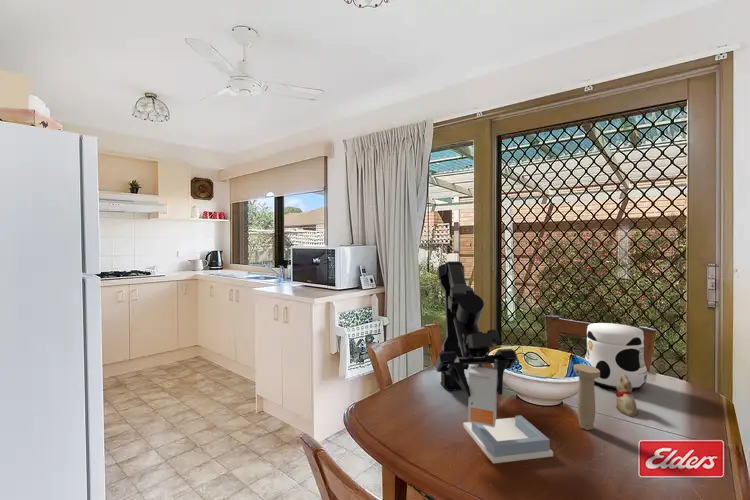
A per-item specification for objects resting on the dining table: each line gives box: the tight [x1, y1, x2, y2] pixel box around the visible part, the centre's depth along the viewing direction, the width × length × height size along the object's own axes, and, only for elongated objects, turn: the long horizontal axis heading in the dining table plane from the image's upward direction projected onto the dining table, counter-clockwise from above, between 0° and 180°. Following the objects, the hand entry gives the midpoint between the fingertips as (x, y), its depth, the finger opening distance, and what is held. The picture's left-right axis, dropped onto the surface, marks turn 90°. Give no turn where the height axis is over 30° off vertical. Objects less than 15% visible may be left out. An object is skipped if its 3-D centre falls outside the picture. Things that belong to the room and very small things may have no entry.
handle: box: [573, 363, 600, 431], centre depth 94 cm, size 5×6×15 cm
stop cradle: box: [462, 414, 554, 464], centre depth 89 cm, size 16×14×4 cm
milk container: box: [584, 322, 648, 390], centre depth 122 cm, size 17×17×18 cm
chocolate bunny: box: [615, 375, 638, 417], centre depth 104 cm, size 6×8×10 cm
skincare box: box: [467, 366, 498, 427], centre depth 87 cm, size 6×4×12 cm
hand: (485, 395), depth 86 cm, fingers closed on skincare box, 7 cm apart
